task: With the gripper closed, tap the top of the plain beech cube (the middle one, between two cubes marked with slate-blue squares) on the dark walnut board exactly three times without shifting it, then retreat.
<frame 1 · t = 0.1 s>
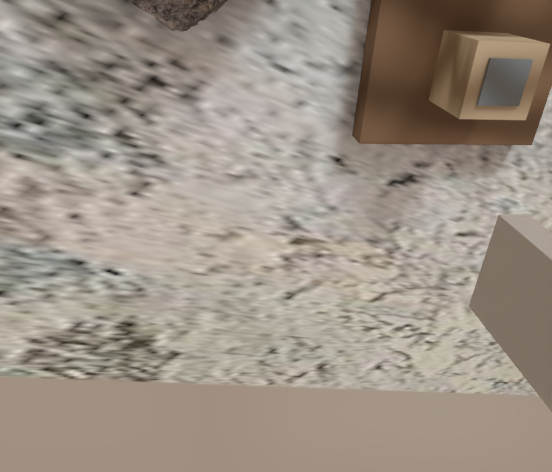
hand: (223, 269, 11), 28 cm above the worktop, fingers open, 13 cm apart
marked block 1: (467, 67, 36), point 2 cm above the worktop, touching walnut board
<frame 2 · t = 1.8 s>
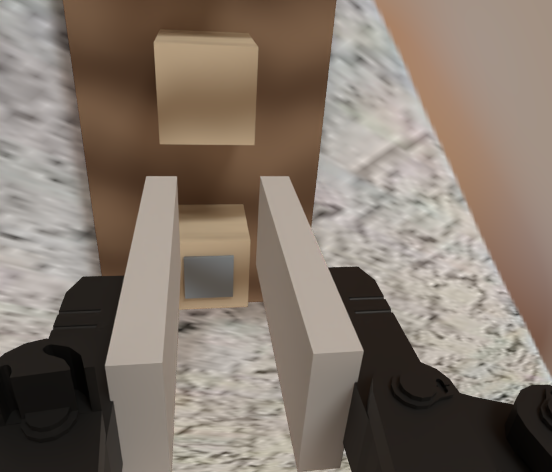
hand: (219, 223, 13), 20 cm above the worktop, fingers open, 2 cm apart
marked block 1: (207, 236, 34), point 2 cm above the worktop, touching walnut board
plain beech block: (205, 76, 29), point 2 cm above the worktop, touching walnut board
walnut board: (204, 69, 30), on the worktop
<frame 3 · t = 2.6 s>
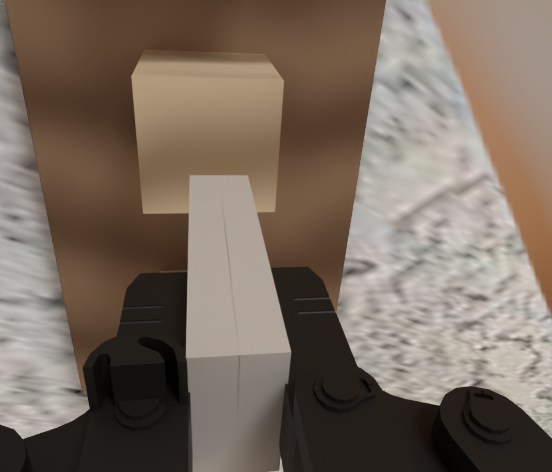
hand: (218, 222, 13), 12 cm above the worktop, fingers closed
plain beech block: (206, 111, 21), point 2 cm above the worktop, touching walnut board
walnut board: (205, 99, 23), on the worktop
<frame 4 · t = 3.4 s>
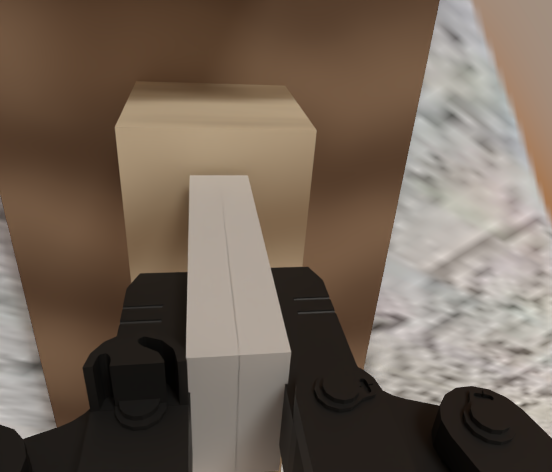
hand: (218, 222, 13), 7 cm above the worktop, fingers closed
plain beech block: (212, 153, 18), point 2 cm above the worktop, touching walnut board
walnut board: (211, 136, 19), on the worktop
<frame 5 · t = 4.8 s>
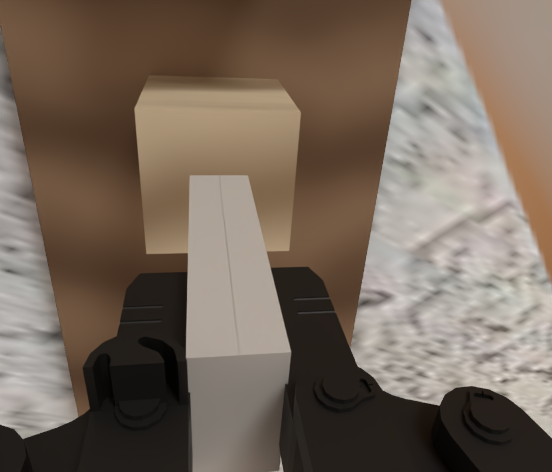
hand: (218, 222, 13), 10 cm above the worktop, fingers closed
plain beech block: (214, 139, 20), point 2 cm above the worktop, touching walnut board
walnut board: (213, 125, 22), on the worktop
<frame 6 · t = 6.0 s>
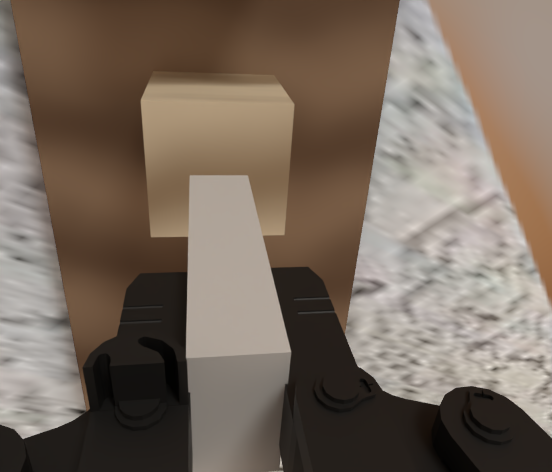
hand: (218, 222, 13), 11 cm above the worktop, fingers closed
plain beech block: (215, 131, 21), point 2 cm above the worktop, touching walnut board
walnut board: (213, 119, 23), on the worktop
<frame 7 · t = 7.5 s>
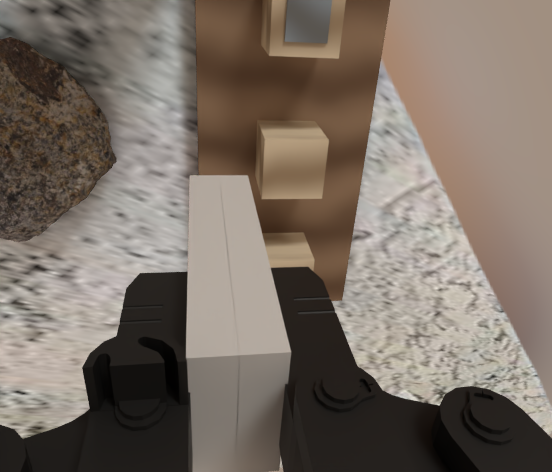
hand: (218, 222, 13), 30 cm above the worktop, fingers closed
marked block 1: (276, 254, 48), point 2 cm above the worktop, touching walnut board
rock: (28, 137, 41), on the worktop
marked block 2: (294, 11, 37), point 2 cm above the worktop, touching walnut board
plain beech block: (284, 148, 42), point 2 cm above the worktop, touching walnut board
walnut board: (281, 141, 44), on the worktop
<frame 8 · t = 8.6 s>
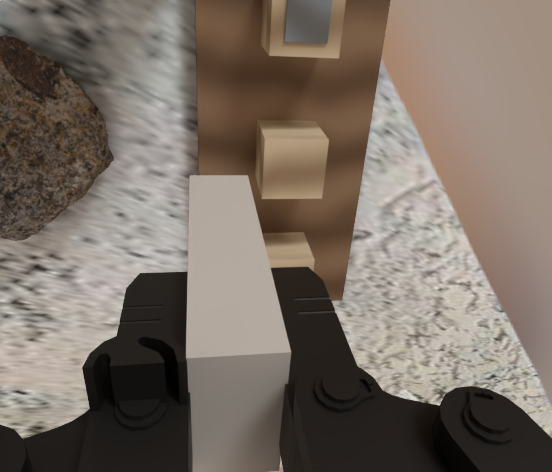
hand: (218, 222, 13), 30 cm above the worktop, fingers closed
marked block 1: (276, 254, 48), point 2 cm above the worktop, touching walnut board
rock: (25, 136, 41), on the worktop
marked block 2: (294, 11, 37), point 2 cm above the worktop, touching walnut board
plain beech block: (284, 148, 42), point 2 cm above the worktop, touching walnut board
walnut board: (281, 141, 44), on the worktop
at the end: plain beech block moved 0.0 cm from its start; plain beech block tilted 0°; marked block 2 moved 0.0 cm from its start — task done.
